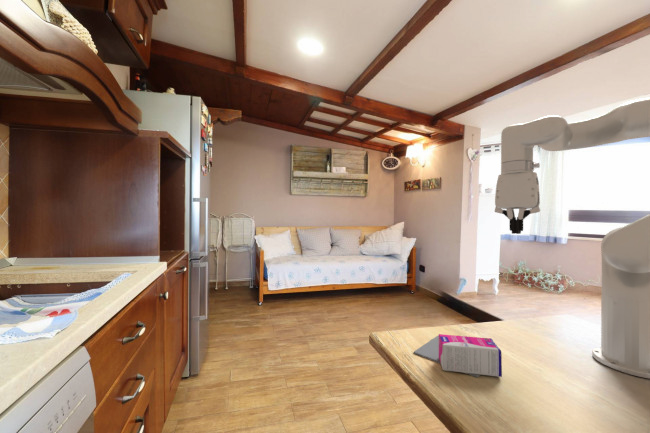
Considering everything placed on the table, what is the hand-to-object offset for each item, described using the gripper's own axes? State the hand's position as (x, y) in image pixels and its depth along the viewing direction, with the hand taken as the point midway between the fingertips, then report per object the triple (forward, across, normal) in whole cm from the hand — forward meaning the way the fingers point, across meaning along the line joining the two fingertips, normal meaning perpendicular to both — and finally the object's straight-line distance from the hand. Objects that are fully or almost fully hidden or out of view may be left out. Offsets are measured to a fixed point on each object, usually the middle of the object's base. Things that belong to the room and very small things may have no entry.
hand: (516, 233), depth 79 cm
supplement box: (+26, -2, +26) cm, 36 cm away
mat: (+29, +8, +24) cm, 39 cm away
